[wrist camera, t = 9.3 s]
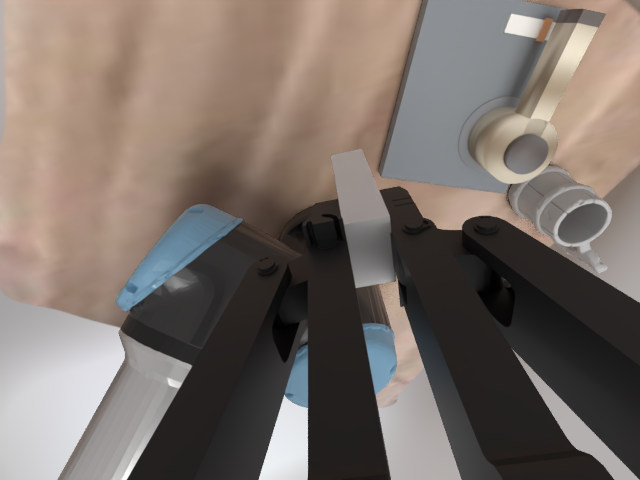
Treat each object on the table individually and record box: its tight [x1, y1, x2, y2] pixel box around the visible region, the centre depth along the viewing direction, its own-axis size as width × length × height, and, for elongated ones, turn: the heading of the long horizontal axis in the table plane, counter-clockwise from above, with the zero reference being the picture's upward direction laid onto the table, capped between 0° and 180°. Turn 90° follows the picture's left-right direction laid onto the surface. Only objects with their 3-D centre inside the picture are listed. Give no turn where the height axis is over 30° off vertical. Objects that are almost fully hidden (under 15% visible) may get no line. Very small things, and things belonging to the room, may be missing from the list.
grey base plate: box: [379, 0, 567, 194], centre depth 39 cm, size 20×17×2 cm
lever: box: [468, 9, 606, 184], centre depth 35 cm, size 16×7×7 cm, turn 170°
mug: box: [508, 165, 612, 273], centre depth 42 cm, size 8×12×12 cm, turn 32°
